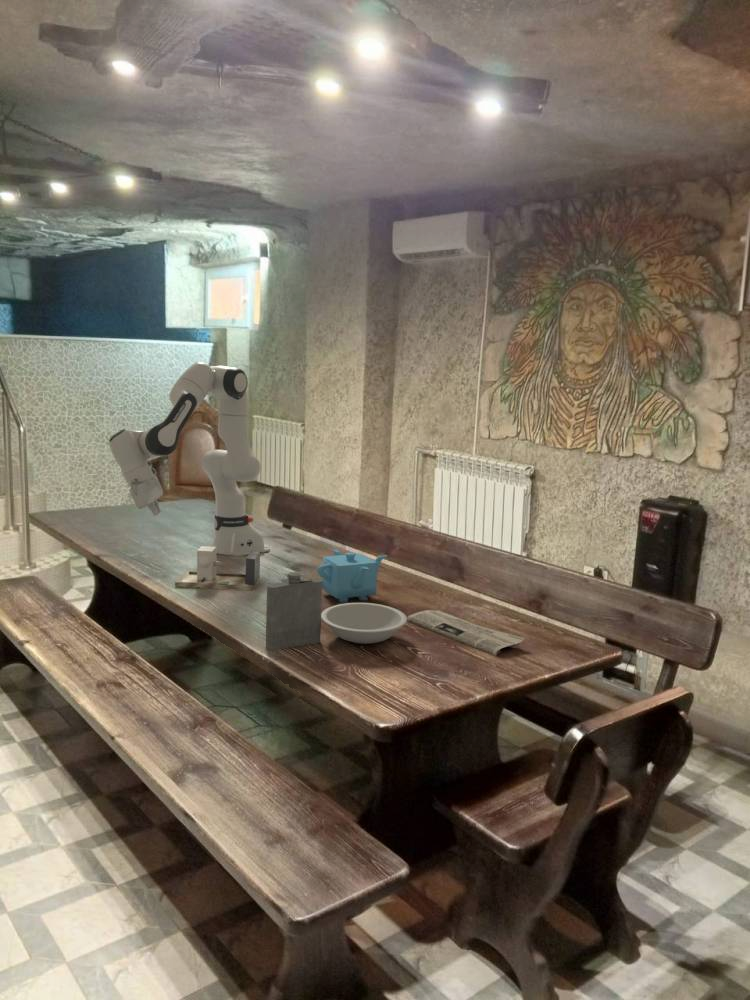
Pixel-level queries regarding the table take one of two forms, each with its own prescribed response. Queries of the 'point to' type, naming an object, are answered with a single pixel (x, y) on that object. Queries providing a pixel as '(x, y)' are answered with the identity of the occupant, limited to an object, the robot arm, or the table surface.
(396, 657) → the table surface
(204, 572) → the block
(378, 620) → the soup bowl
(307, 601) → the hip flask
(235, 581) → the board
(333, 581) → the teakettle
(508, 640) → the newspaper
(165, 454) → the robot arm
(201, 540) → the table surface
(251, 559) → the dark grey slab
